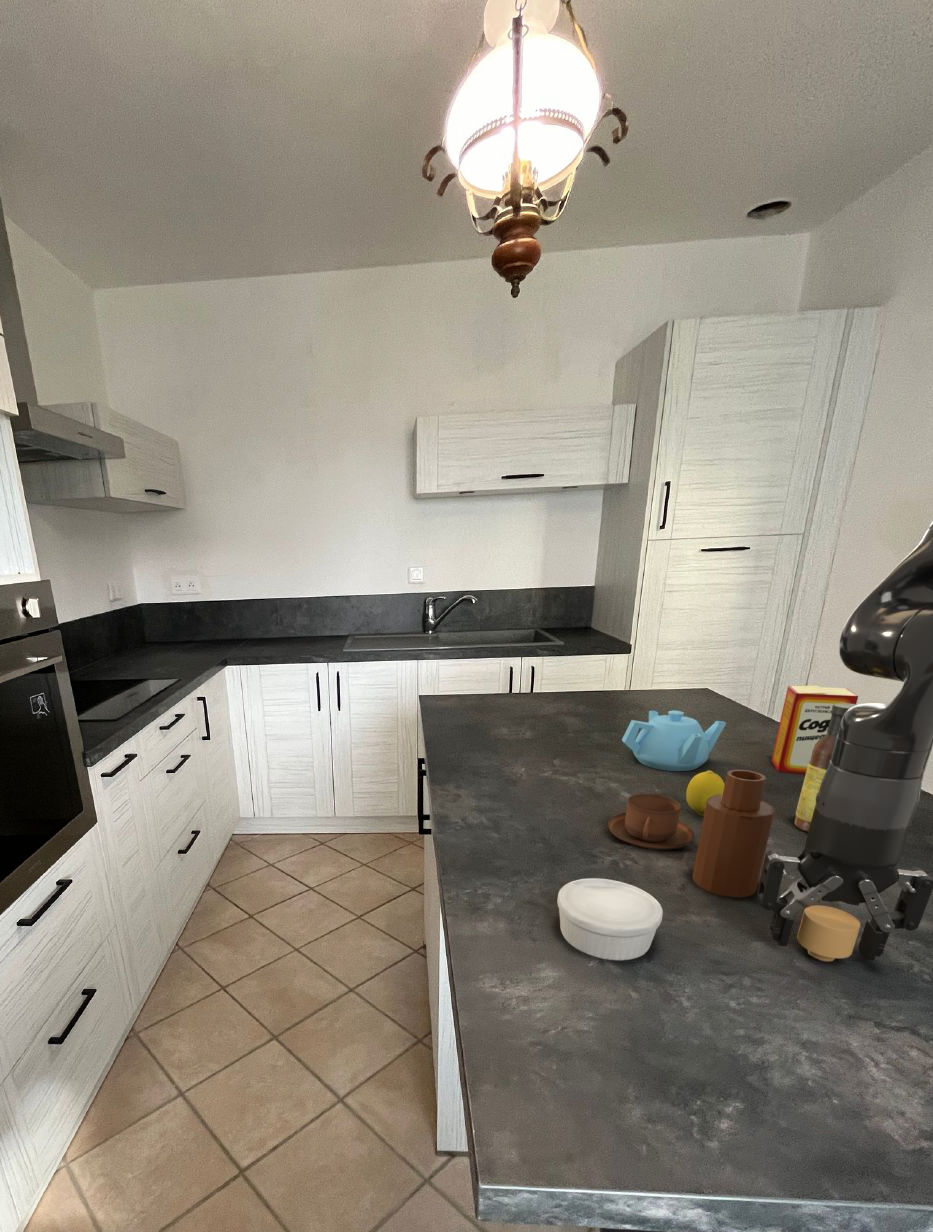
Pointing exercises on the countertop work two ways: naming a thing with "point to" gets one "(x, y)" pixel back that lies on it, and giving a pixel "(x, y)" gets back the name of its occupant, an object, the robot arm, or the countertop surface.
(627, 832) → the cup and saucer
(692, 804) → the lemon
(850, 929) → the bung
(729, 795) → the brown bottle
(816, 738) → the baking soda box
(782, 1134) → the countertop surface
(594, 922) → the ramekin
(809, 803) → the sauce bottle
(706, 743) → the teapot
